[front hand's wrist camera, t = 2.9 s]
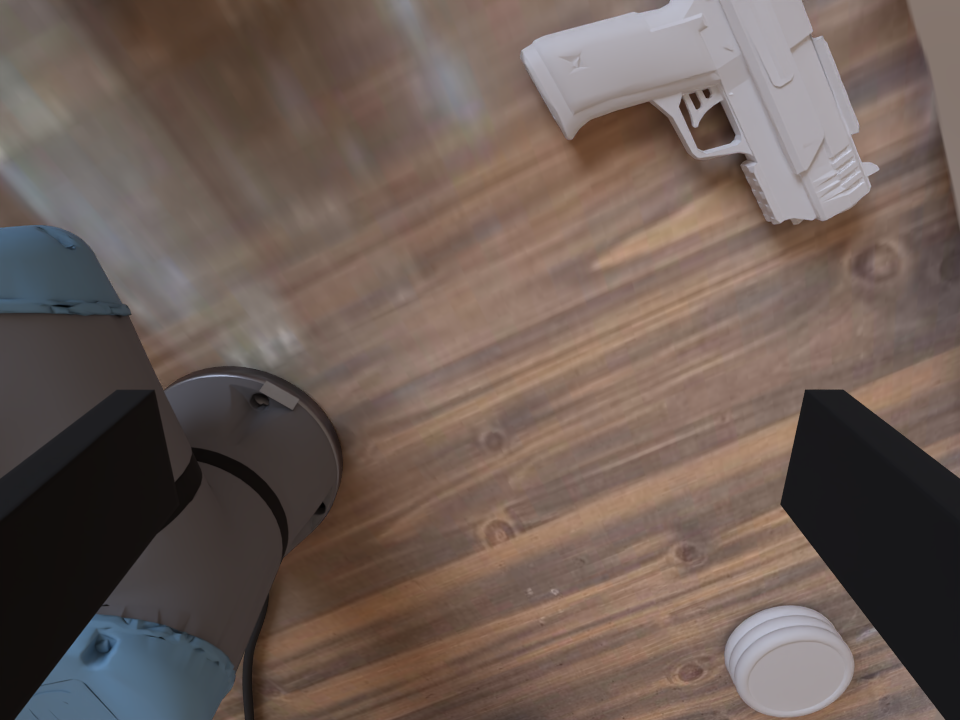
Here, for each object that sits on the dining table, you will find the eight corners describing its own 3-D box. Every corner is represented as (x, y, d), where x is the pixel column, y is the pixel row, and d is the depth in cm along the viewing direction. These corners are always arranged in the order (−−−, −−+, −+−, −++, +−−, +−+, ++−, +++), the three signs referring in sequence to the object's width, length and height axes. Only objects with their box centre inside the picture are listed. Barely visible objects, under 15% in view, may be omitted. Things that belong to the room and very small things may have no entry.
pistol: (668, 317, 40) (901, 186, 37) (506, 28, 34) (768, -164, 30) (655, 299, 44) (867, 179, 40) (505, 34, 37) (741, -139, 34)
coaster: (854, 649, 55) (878, 683, 52) (759, 702, 58) (776, 737, 55) (799, 583, 53) (820, 614, 49) (700, 641, 55) (714, 674, 52)
